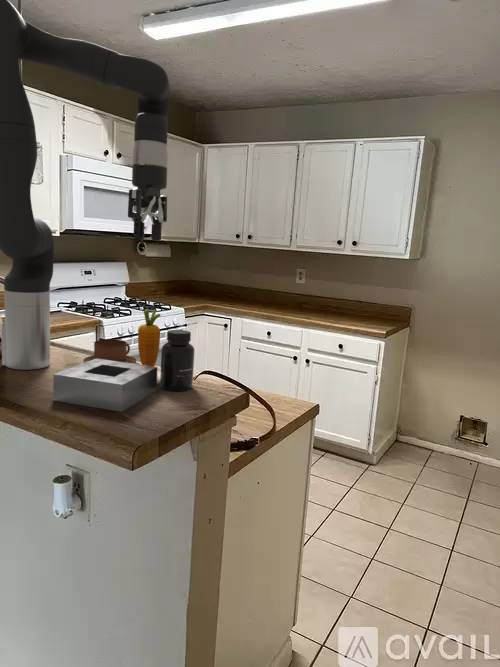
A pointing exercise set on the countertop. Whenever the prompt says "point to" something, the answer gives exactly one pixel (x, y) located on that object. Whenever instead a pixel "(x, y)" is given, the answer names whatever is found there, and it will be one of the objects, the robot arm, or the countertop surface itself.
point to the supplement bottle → (177, 361)
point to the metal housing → (105, 384)
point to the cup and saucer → (111, 351)
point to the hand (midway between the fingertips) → (147, 240)
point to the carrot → (149, 339)
